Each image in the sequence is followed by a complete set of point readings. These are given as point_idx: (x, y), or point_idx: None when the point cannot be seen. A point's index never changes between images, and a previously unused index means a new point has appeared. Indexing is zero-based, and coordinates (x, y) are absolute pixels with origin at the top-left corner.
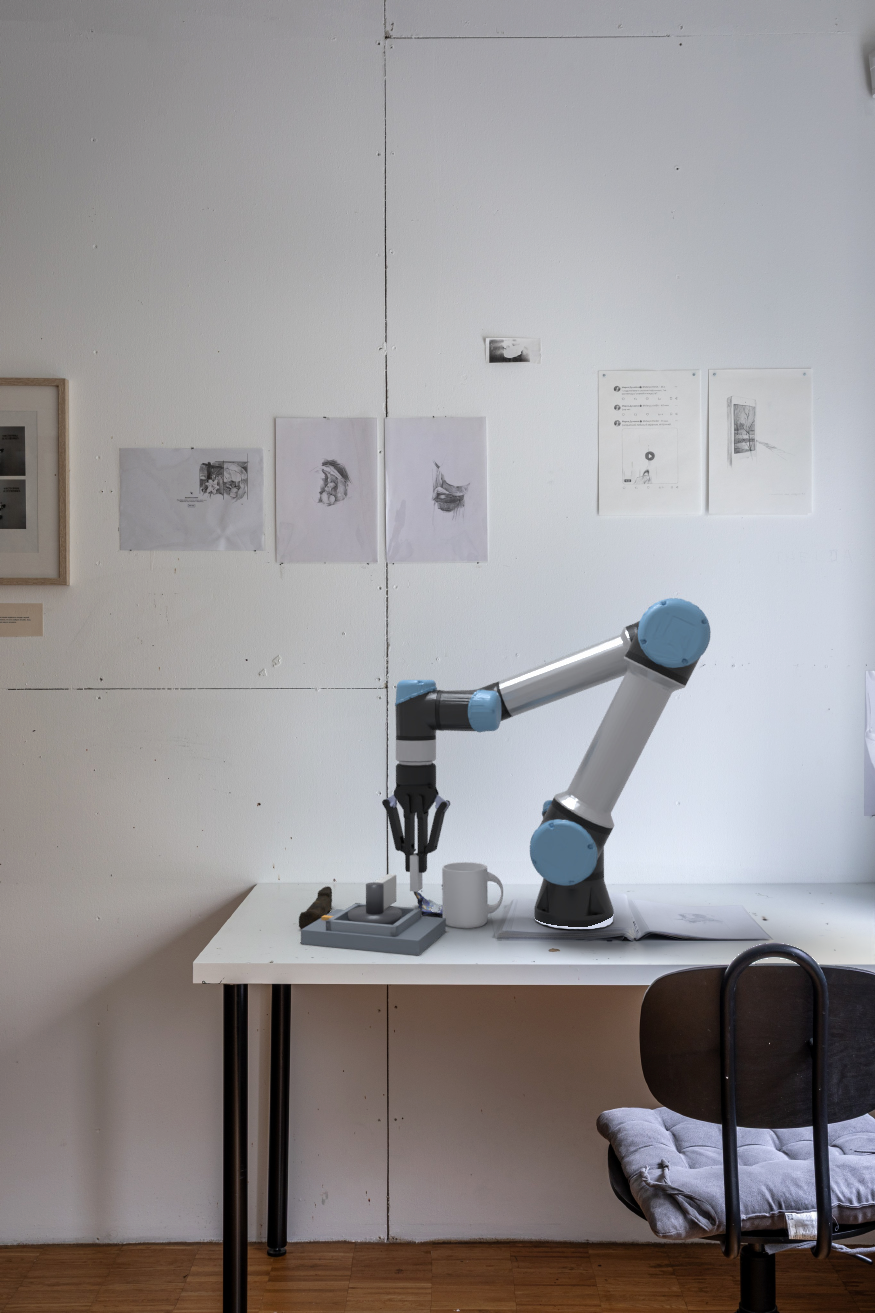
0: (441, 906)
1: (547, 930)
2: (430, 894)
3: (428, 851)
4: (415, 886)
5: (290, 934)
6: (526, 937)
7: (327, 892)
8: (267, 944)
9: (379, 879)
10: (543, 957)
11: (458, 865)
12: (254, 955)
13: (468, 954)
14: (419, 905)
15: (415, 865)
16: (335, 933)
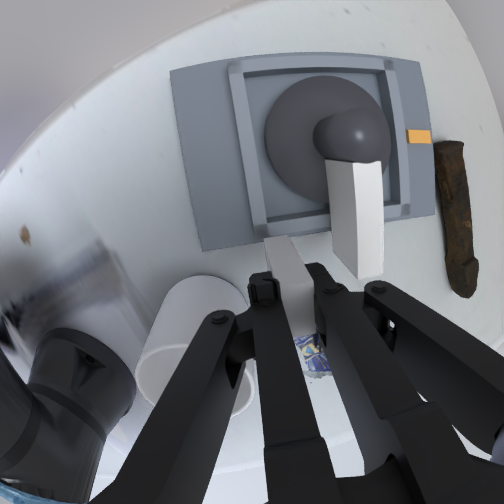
0: None
1: (78, 321)
2: (335, 404)
3: (226, 312)
4: (271, 241)
5: (445, 116)
6: (77, 276)
7: (468, 266)
8: (440, 60)
9: (379, 202)
10: (19, 194)
11: (234, 408)
12: (418, 11)
13: (101, 137)
14: None
15: (281, 269)
16: (357, 54)
